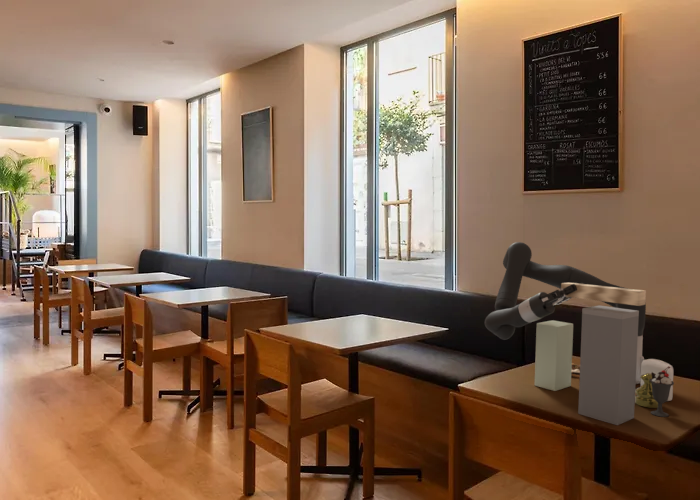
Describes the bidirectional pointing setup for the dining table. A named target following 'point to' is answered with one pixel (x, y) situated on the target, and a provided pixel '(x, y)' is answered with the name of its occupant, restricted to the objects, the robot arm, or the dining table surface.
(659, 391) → the sundae
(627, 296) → the ash bar
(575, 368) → the sushi roll
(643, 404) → the gold buddha statue
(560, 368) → the sage green pillar
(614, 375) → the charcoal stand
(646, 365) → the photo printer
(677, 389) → the dining table surface
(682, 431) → the dining table surface
